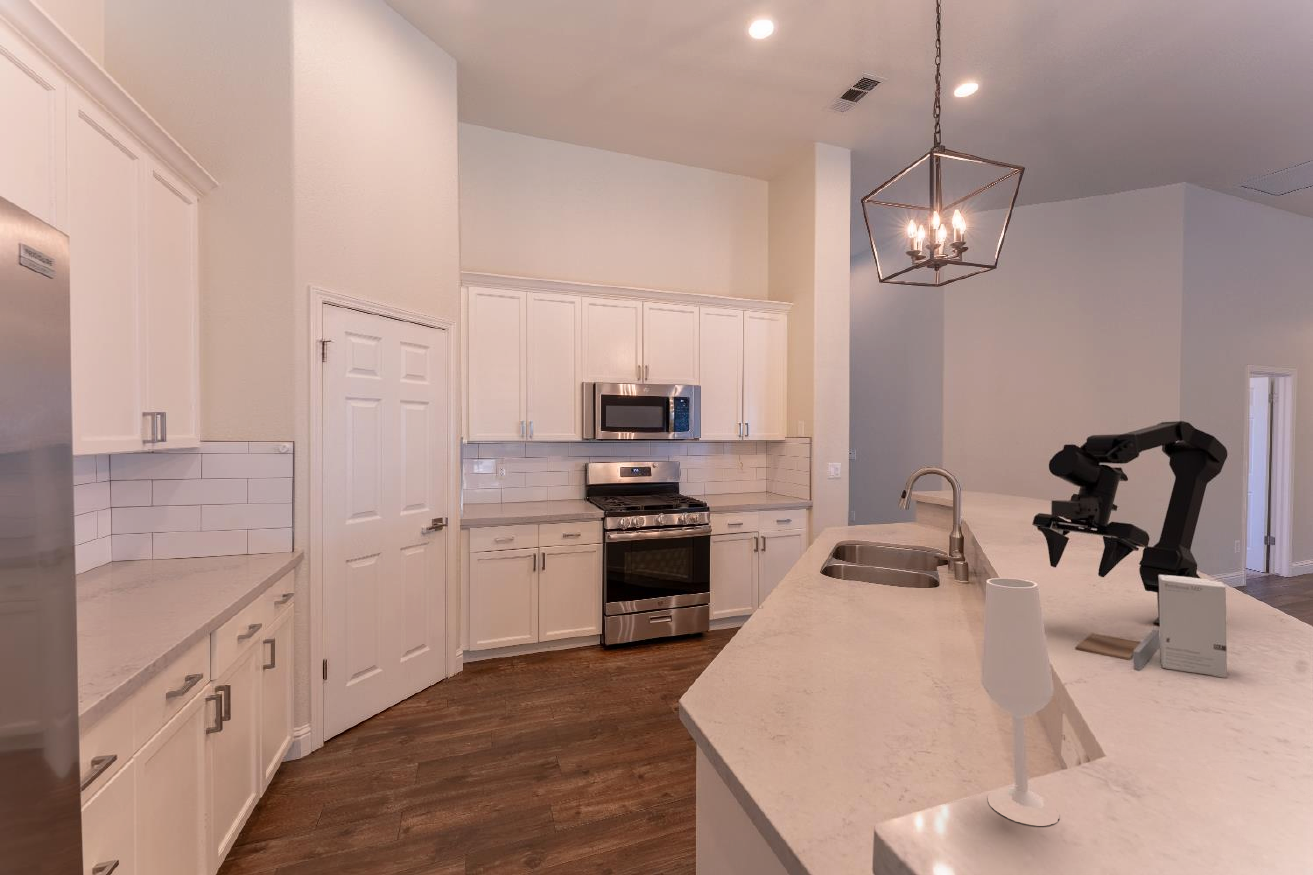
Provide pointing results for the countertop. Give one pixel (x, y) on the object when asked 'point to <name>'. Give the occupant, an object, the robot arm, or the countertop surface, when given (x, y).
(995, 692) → the champagne flute
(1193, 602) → the skincare box
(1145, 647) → the low wall
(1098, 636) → the walnut board
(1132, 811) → the countertop surface
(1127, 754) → the countertop surface
